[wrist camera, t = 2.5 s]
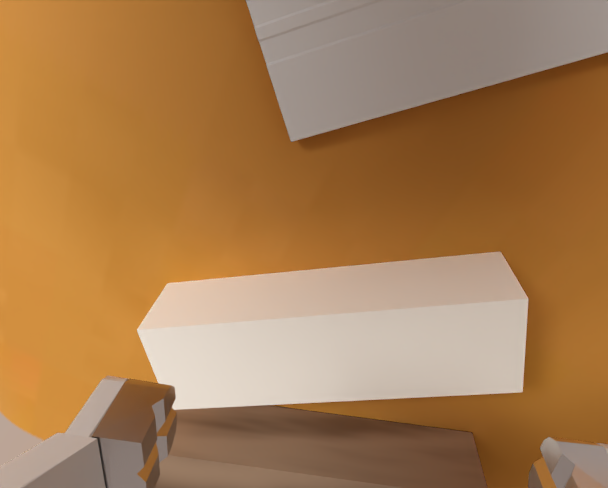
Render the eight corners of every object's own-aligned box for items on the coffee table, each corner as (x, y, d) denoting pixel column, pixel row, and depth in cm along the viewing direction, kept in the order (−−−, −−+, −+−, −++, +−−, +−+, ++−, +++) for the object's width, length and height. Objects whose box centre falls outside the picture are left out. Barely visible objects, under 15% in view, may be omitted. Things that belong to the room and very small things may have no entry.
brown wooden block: (166, 391, 34) (138, 450, 29) (472, 432, 33) (490, 499, 28) (170, 447, 36) (145, 509, 32) (452, 486, 36) (466, 555, 31)
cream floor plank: (169, 280, 29) (136, 329, 25) (498, 248, 26) (528, 298, 22) (194, 353, 32) (169, 410, 28) (496, 332, 29) (522, 392, 25)
